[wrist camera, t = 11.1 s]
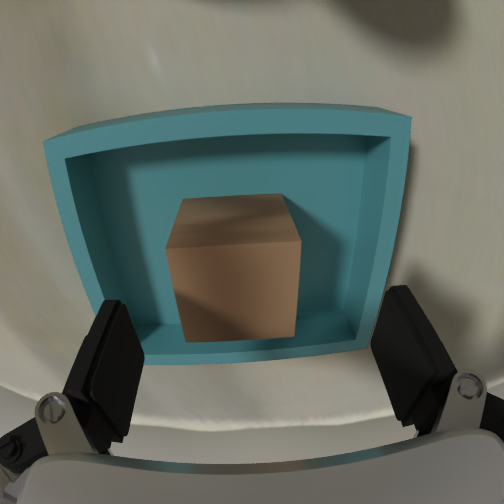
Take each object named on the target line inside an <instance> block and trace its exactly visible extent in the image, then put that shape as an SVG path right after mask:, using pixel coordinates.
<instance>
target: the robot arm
mask: <svg viewBox="0 0 504 504" xmlns="http://www.w3.org/2000/svg"><path fill="white" fill-rule="evenodd" d="M371 349H372V352H373V355H374V357H375V360H376V363H377V365H378V368H379V371H380V373H381V376H382V379H383V382H384V384H385V387H386V390H387V393H388V396H389V398H390V401H391V404H392V407H393V410H394V413H395V416H396V418H397V420H399V421H401V423H402V425H403V427H405V426H409V425H413V424H414V425H415V428H416V433H415V435H414V437H413V439H409V440H405V441H401V442H398V443H393V444H389V445H384V446H380V447H376V448H371V449H367V450H362V451H357V452H352V453H346V454H341V455H334V456H328V457H321V458H314V459H306V460H296V461H287V462H273V463H256V464H192V463H174V462H163V461H152V460H142V459H134V458H126V457H118V456H114V455H113V453H112V452H111V450H110V446H111V442H119V443H122V442H123V437H124V436H127V434H128V432H129V427H130V422H131V417H132V413H133V408H134V403H135V399H136V395H137V390H138V386H139V382H140V377H141V373H142V369H143V365H144V360H145V355H144V351H143V349H142V346H141V344H140V341H139V339H138V336H137V334H136V331H135V329H134V326H133V323H132V321H131V318H130V315H129V313H128V310H127V307H126V305H125V304H122V303H121V301H120V300H104V301H103V303H102V305H101V307H100V309H99V311H98V313H97V315H96V317H95V320H94V322H93V324H92V326H91V328H90V331H89V333H88V335H87V336H86V337H85V338H84V340H83V343H82V345H81V347H80V350H79V352H78V354H77V357H76V359H75V361H74V364H73V366H72V369H71V371H70V374H69V376H68V379H67V381H66V384H65V387H64V389H63V392H62V393H58V392H52V393H49V394H46V395H45V396H43V397H42V398H41V399H40V400H39V401H38V403H37V405H36V407H35V417H34V418H33V419H31V420H29V421H27V422H26V423H24V424H22V425H21V426H19V427H17V428H16V429H14V430H12V431H10V432H9V433H7V434H5V435H4V436H3V437H1V438H0V504H504V400H503V399H501V398H499V397H497V396H494V395H492V394H490V393H488V392H487V386H486V383H485V381H484V379H483V378H482V376H480V375H479V374H478V373H476V372H475V371H472V370H461V371H459V372H458V371H457V370H456V368H455V366H454V364H453V362H452V360H451V358H450V356H449V355H448V353H447V351H446V349H445V347H444V346H443V344H442V342H441V340H440V338H439V337H438V335H437V333H436V331H435V330H434V328H433V326H432V325H431V323H430V321H429V320H428V319H427V317H426V315H425V314H424V312H423V310H422V309H421V307H420V305H419V304H418V302H417V301H416V299H415V297H414V296H413V294H412V293H411V291H410V290H409V288H408V287H407V286H406V285H399V286H391V287H390V289H389V290H388V291H386V293H385V296H384V299H383V303H382V306H381V310H380V313H379V317H378V320H377V323H376V327H375V330H374V333H373V336H372V339H371Z"/></svg>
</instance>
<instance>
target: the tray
mask: <svg viewBox="0 0 504 504" xmlns="http://www.w3.org/2000/svg"><path fill="white" fill-rule="evenodd" d="M411 120H412V117H410V116H407V115H403V114H400V113H396V112H393V111H389V110H386V109H382V108H378V107H367V106H355V105H340V104H320V103H253V104H231V105H217V106H204V107H194V108H184V109H176V110H168V111H160V112H153V113H146V114H140V115H134V116H128V117H123V118H117V119H112V120H107V121H102V122H97V123H93V124H88V125H84V126H79V127H76V128H73V129H71V130H68V131H66V132H63V133H61V134H59V135H56V136H54V137H52V138H49V139H47V140H45V141H43V144H44V149H45V155H46V160H47V165H48V169H49V174H50V178H51V183H52V187H53V191H54V195H55V199H56V203H57V206H58V210H59V214H60V217H61V221H62V224H63V228H64V231H65V234H66V237H67V240H68V244H69V247H70V250H71V253H72V256H73V259H74V261H75V264H76V267H77V270H78V273H79V275H80V278H81V281H82V283H83V286H84V289H85V291H86V294H87V296H88V299H89V301H90V304H91V306H92V308H93V311H94V313H95V316H96V315H97V313H98V311H99V309H100V307H101V305H102V303H103V301H104V300H120V301H121V303H122V304H125V305H126V307H127V310H128V313H129V315H130V318H131V321H132V323H133V326H134V329H135V331H136V334H137V336H138V339H139V341H140V344H141V346H142V349H143V351H144V355H145V360H144V365H196V364H223V363H241V362H256V361H268V360H279V359H289V358H299V357H308V356H316V355H324V354H331V353H338V352H345V351H352V350H358V349H364V348H367V346H368V343H369V340H370V337H371V334H372V330H373V327H374V324H375V320H376V317H377V313H378V309H379V306H380V302H381V298H382V295H383V291H384V287H385V283H386V279H387V275H388V270H389V266H390V262H391V257H392V252H393V248H394V243H395V238H396V233H397V228H398V222H399V217H400V211H401V205H402V199H403V192H404V185H405V178H406V171H407V162H408V153H409V144H410V133H411ZM277 193H281V194H282V196H283V199H284V201H285V203H286V206H287V208H288V210H289V212H290V215H291V217H292V220H293V222H294V224H295V227H296V229H297V231H298V234H299V236H300V239H301V241H302V242H301V258H300V273H299V287H298V299H297V312H296V323H295V334H294V337H283V338H271V339H257V340H241V341H222V342H195V343H186V342H185V338H184V334H183V330H182V326H181V321H180V317H179V313H178V308H177V304H176V299H175V295H174V290H173V286H172V281H171V276H170V271H169V266H168V261H167V256H166V250H165V248H166V245H167V242H168V239H169V236H170V233H171V230H172V227H173V224H174V221H175V219H176V216H177V213H178V210H179V207H180V205H181V202H182V199H188V198H202V197H217V196H234V195H253V194H277Z"/></svg>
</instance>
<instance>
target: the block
mask: <svg viewBox="0 0 504 504" xmlns="http://www.w3.org/2000/svg"><path fill="white" fill-rule="evenodd" d="M301 242H302V241H301V239H300V236H299V234H298V231H297V229H296V227H295V224H294V222H293V220H292V217H291V215H290V212H289V210H288V208H287V206H286V203H285V201H284V199H283V196H282V194H281V193H277V194H253V195H234V196H217V197H202V198H188V199H182V202H181V205H180V207H179V210H178V213H177V216H176V219H175V221H174V224H173V227H172V230H171V233H170V236H169V239H168V242H167V245H166V248H165V250H166V256H167V261H168V266H169V271H170V276H171V281H172V286H173V290H174V295H175V299H176V304H177V308H178V313H179V317H180V321H181V326H182V330H183V334H184V338H185V342H186V343H195V342H222V341H241V340H257V339H271V338H283V337H294V334H295V323H296V312H297V299H298V287H299V273H300V258H301Z"/></svg>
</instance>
